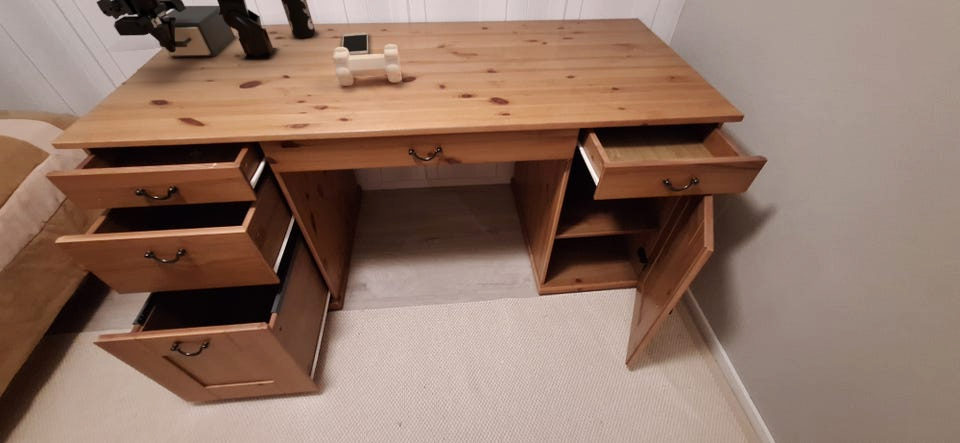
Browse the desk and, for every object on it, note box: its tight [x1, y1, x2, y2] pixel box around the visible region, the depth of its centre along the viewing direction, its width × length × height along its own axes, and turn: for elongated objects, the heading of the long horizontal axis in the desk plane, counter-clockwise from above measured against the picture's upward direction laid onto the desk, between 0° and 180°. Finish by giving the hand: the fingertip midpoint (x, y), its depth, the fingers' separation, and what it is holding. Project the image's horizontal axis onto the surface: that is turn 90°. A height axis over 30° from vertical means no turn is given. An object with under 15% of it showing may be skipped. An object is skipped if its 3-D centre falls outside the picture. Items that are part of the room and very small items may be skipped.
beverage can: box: [280, 0, 316, 39], centre depth 110 cm, size 7×7×12 cm
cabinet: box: [167, 5, 236, 58], centre depth 105 cm, size 14×12×9 cm
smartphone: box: [341, 31, 370, 55], centre depth 108 cm, size 7×16×1 cm, turn 12°
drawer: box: [158, 26, 211, 57], centre depth 102 cm, size 17×10×7 cm, turn 3°
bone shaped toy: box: [332, 43, 403, 87], centre depth 91 cm, size 15×9×8 cm, turn 99°
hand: (172, 51), depth 96 cm, fingers closed
